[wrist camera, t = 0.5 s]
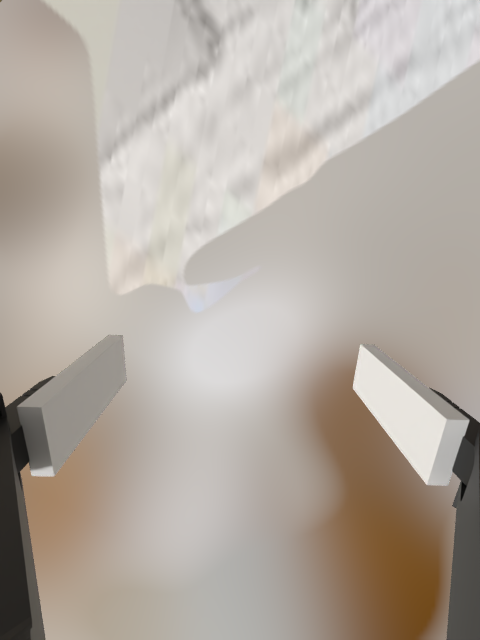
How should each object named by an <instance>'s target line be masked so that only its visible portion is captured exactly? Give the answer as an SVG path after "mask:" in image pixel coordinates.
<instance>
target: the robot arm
mask: <svg viewBox="0 0 480 640" xmlns="http://www.w3.org/2000/svg"><path fill="white" fill-rule="evenodd" d="M125 382H126V368H125V357H124V344H123V336H122V335H108V336H107V337H105V338H104V339H103V340H102V341H100V342H99V343H98V344H96V345H95V346H94V347H92V348H91V349H90V350H89V351H87V352H86V353H85V354H84V355H82V356H81V357H80V358H78V359H77V360H76V361H75V362H73V363H72V364H71V365H69V366H68V367H67V368H66V369H64V370H63V371H62V372H60V373H59V374H58V375H57V376H52V377H50V378H47V379H45V380H43V381H41V382H39V383H38V384H36V385H35V386H34V387H32V388H31V389H30V390H28V391H27V392H26V393H24V394H23V395H22V396H20V397H19V398H18V399H16V400H15V401H14V402H12V403H11V404H9V405H8V406H7V407H5V405H4V401H3V396H2V394H1V393H0V640H45V633H44V626H43V619H42V613H41V606H40V599H39V593H38V586H37V579H36V573H35V566H34V559H33V552H32V546H31V539H30V532H29V526H28V519H27V512H26V505H25V498H24V492H23V485H22V479H21V474H20V471H21V470H22V469H23V468H24V467H25V466H26V464H27V463H28V462H29V465H30V470H31V475H32V476H55V475H56V473H57V472H58V471H59V470H60V468H61V467H62V466H63V464H64V463H65V462H66V460H67V459H68V458H69V456H70V455H71V454H72V452H73V451H74V450H75V448H76V447H77V446H78V444H79V443H80V442H81V440H82V439H83V438H84V436H85V435H86V434H87V432H88V431H89V429H90V428H91V427H92V426H93V424H94V423H95V422H96V420H97V419H98V418H99V416H100V415H101V414H102V412H103V411H104V410H105V408H106V407H107V406H108V405H109V403H110V402H111V400H112V399H113V398H114V397H115V395H116V394H117V393H118V391H119V390H120V389H121V387H122V386H123V385H124V383H125ZM353 389H354V390H355V391H356V393H357V394H358V396H359V397H360V398H361V400H362V401H363V402H364V403H365V405H366V406H367V407H368V409H369V410H370V411H371V413H372V414H373V415H374V417H375V418H376V419H377V420H378V422H379V423H380V424H381V425H382V427H383V428H384V430H385V431H386V432H387V433H388V435H389V436H390V437H391V439H392V440H393V441H394V443H395V444H396V445H397V447H398V448H399V449H400V451H401V452H402V453H403V454H404V456H405V457H406V458H407V459H408V461H409V462H410V464H411V465H412V466H413V467H414V469H415V470H416V471H417V473H418V474H419V475H420V477H421V478H422V479H423V481H424V482H425V483H426V484H427V485H444V486H445V485H446V486H447V485H448V484H449V481H450V478H451V475H452V472H454V473H455V474H456V475H457V477H458V478H459V479H460V480H461V482H460V485H459V488H458V491H457V494H456V497H455V500H454V503H453V505H452V506H453V507H455V508H457V510H456V523H455V524H456V525H455V536H454V550H453V563H452V576H451V589H450V602H449V615H448V629H447V640H480V423H479V422H478V421H477V420H475V419H474V418H473V417H471V416H470V415H469V414H467V413H466V412H465V411H463V410H462V409H459V407H458V406H457V405H456V404H454V403H452V402H451V400H449V399H448V398H447V397H445V396H444V395H443V394H441V393H439V392H437V391H435V390H433V389H431V388H428V387H427V386H426V385H425V384H423V383H422V382H421V381H420V380H418V379H417V378H416V377H414V376H413V375H412V374H411V373H409V372H408V371H407V370H405V369H404V368H403V367H402V366H401V365H399V364H398V363H397V362H395V361H394V360H393V359H392V358H390V357H389V356H388V355H387V354H385V353H384V352H383V351H382V350H380V349H379V348H378V347H376V346H375V345H369V344H361V345H360V350H359V356H358V362H357V367H356V372H355V378H354V383H353Z"/></svg>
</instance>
